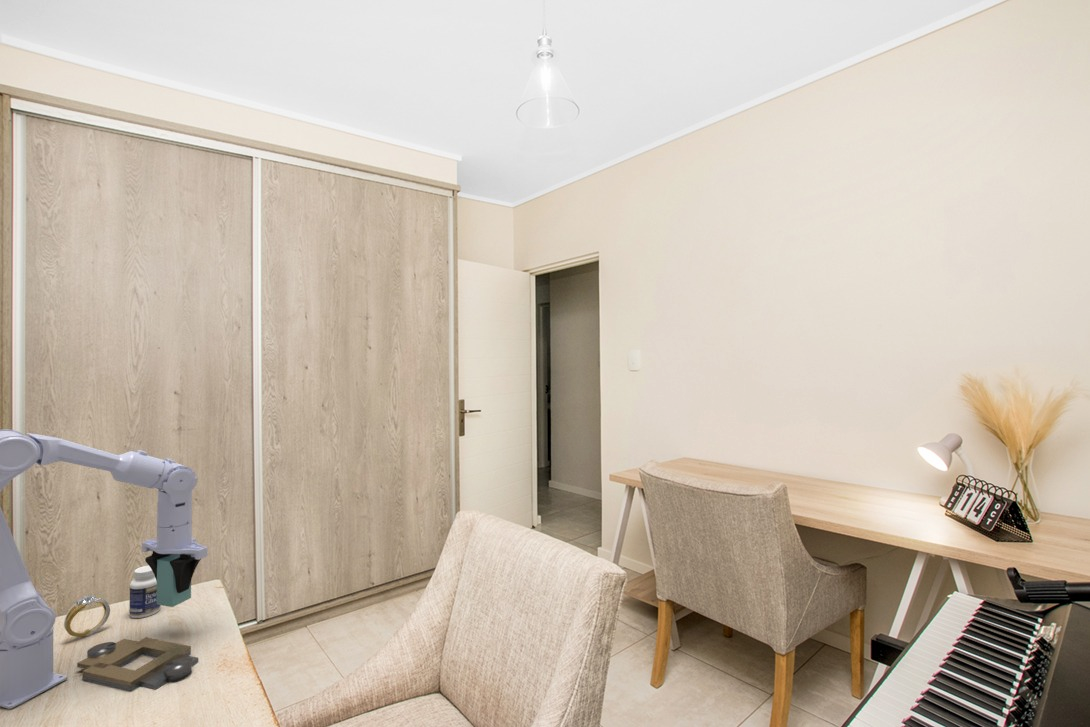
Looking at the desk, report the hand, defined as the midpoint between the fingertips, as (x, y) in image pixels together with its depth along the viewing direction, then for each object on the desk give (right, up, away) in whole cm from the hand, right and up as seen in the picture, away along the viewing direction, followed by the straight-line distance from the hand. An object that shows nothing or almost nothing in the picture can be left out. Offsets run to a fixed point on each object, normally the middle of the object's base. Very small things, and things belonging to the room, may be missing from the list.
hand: (174, 589), depth 102 cm
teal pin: (0, -2, 0) cm, 2 cm away
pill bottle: (-13, -9, +8) cm, 18 cm away
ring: (-17, -9, -1) cm, 19 cm away
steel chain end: (+4, -10, -11) cm, 15 cm away
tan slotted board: (-1, -9, -10) cm, 14 cm away
